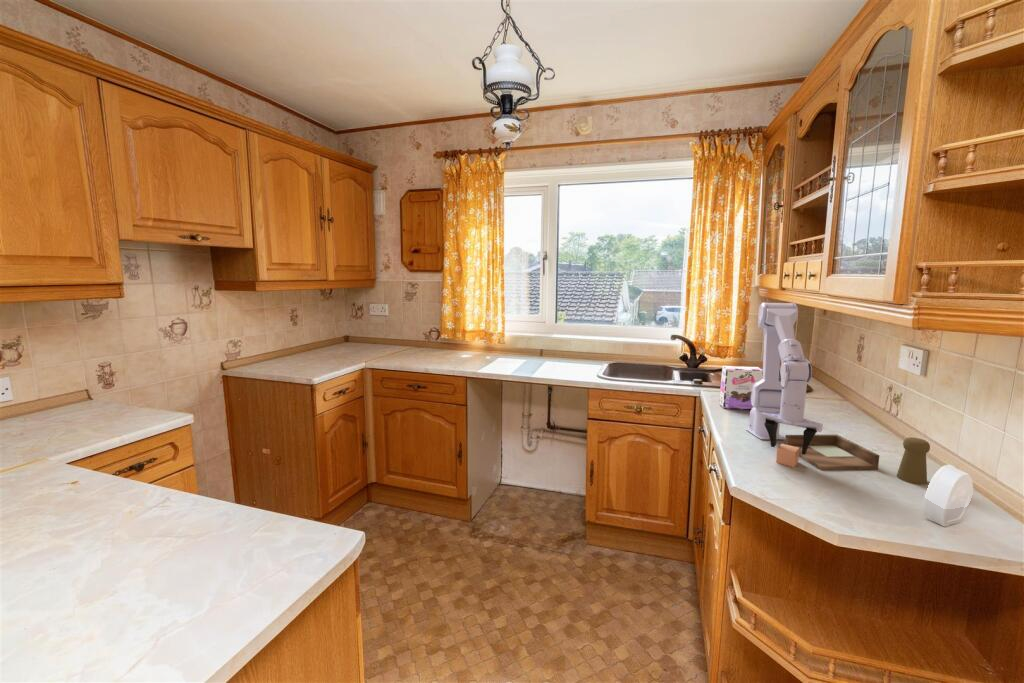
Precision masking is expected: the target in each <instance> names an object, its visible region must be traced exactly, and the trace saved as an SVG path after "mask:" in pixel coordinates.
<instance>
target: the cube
mask: <svg viewBox="0 0 1024 683" xmlns="http://www.w3.org/2000/svg"><path fill="white" fill-rule="evenodd" d="M776 449H777V450H776V457H775V458H776V460H775V463H776V462H777V463H776V464H780V463H781V464H780V465H783V464H784V466H787V465H788V467H791V466H792V468H795V467H796V466H797V465H798V463H799V459H800V457H799V449H800V448H799V447H795V446H790V445H786V444H785V443H781V444H780V445H779V446H777V448H776ZM795 465H796V466H795Z"/></svg>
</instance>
